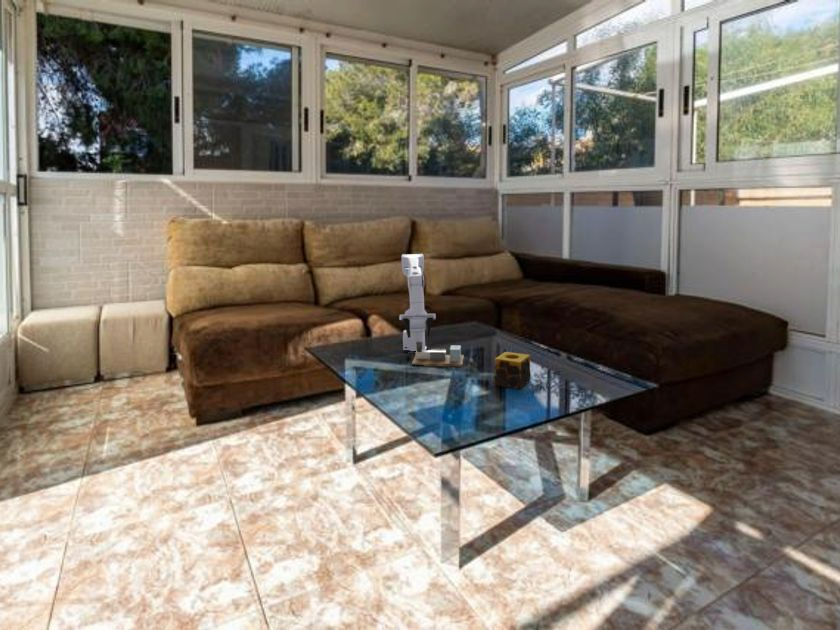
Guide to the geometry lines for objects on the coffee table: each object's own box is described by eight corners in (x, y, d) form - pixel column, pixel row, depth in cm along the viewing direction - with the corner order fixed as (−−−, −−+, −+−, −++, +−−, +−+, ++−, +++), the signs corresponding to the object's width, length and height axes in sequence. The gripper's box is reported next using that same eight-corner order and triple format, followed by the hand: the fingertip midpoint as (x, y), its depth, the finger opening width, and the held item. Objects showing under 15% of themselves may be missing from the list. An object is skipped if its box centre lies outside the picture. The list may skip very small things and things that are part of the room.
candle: (520, 390, 193) (520, 362, 191) (493, 385, 199) (493, 358, 196) (531, 381, 202) (531, 354, 200) (505, 377, 207) (505, 351, 205)
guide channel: (430, 360, 225) (430, 352, 224) (431, 357, 230) (431, 348, 229) (445, 361, 224) (445, 352, 224) (446, 357, 229) (446, 349, 228)
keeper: (450, 361, 223) (449, 349, 222) (451, 357, 229) (451, 345, 228) (460, 361, 223) (459, 349, 222) (460, 357, 229) (460, 345, 228)
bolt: (415, 359, 227) (415, 342, 225) (416, 357, 230) (416, 340, 228) (445, 359, 225) (445, 342, 224) (446, 357, 228) (445, 340, 226)
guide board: (411, 365, 223) (411, 363, 223) (416, 356, 234) (415, 354, 234) (462, 366, 220) (462, 364, 220) (463, 357, 232) (463, 355, 231)
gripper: (400, 302, 221) (402, 336, 219) (436, 301, 223) (438, 335, 222) (398, 305, 227) (399, 338, 226) (432, 304, 230) (434, 337, 229)
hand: (418, 337), depth 224 cm, fingers open, 7 cm apart
